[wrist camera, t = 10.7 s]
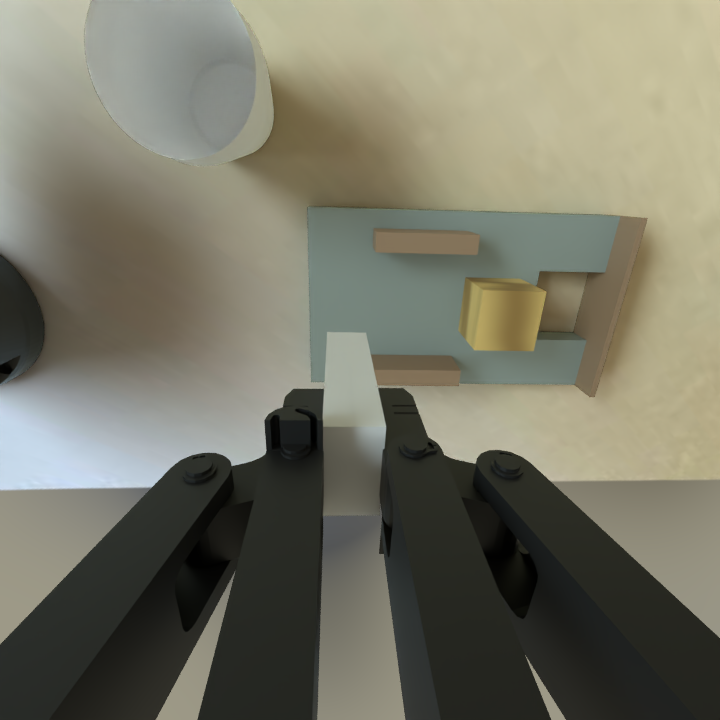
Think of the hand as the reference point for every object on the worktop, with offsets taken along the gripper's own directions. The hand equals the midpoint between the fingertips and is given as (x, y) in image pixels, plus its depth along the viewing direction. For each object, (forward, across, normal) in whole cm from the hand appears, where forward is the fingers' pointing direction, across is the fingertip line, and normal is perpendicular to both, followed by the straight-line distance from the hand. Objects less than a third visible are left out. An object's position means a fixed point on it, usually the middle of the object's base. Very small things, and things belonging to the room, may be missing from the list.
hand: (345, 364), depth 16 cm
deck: (+23, +11, -3) cm, 25 cm away
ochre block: (+20, +14, -3) cm, 25 cm away
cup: (+23, -9, +12) cm, 28 cm away
